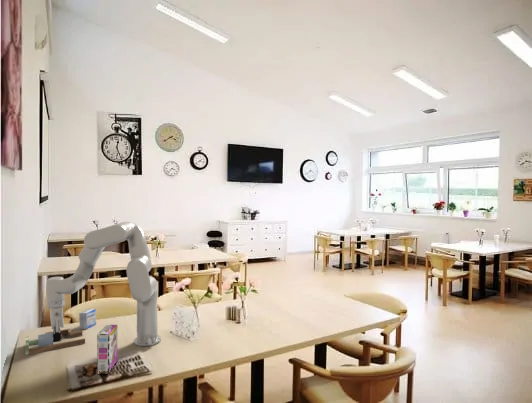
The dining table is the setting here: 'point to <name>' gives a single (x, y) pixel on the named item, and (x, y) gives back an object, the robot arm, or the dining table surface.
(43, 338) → the block
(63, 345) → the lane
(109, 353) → the candy bar box
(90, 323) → the medicine box
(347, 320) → the dining table surface
